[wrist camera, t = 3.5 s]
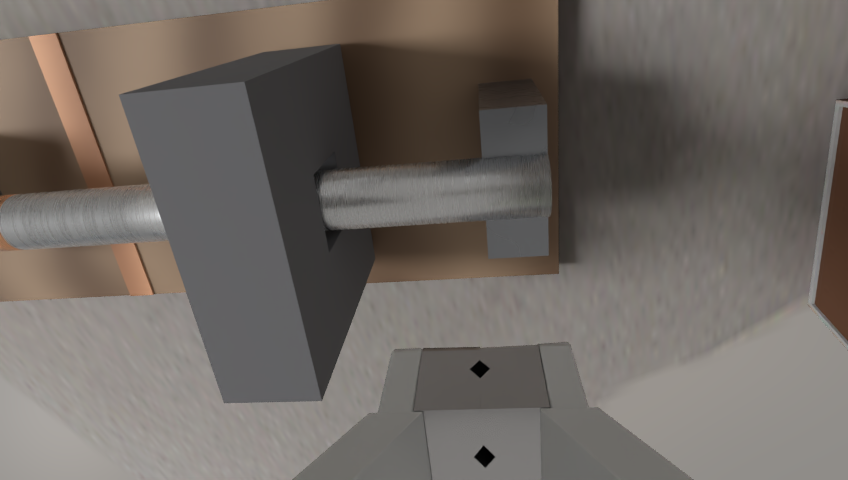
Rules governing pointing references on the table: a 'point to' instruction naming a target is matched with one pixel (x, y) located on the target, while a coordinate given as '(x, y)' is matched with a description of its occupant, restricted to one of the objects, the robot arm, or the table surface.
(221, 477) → the table surface
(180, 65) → the board
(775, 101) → the table surface
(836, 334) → the food container
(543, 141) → the linear slide rail
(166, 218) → the collar
